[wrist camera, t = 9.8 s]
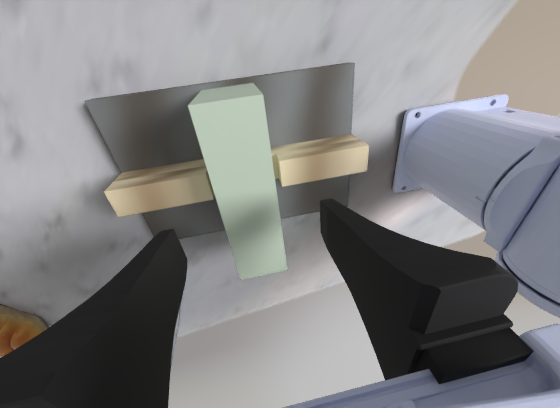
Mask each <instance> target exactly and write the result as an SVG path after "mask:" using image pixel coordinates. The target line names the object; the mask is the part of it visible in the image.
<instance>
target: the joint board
mask: <svg viewBox="0 0 560 408" xmlns="http://www.w3.org/2000/svg"><path fill="white" fill-rule="evenodd" d="M354 67H355V63H343V64H336V65H329V66H322V67H315V68H308V69H301V70H294V71H287V72H280V73H272V74H265V75H258V76H251V77H244V78H237V79H230V80H223V81H216V82H209V83H202V84H195V85H188V86H181V87H174V88H167V89H160V90H153V91H145V92H138V93H131V94H124V95H117V96H110V97H103V98H96V99H91V100H87V101H85V103H86V105H87V107H88V109H89V111H90V113H91V115H92V117H93V119H94V121H95V123H96V124H97V126H98V128H99V130H100V132H101V134H102V136H103V138H104V140H105V142H106V144H107V146H108V148H109V150H110V152H111V154H112V156H113V157H114V159H115V161H116V163H117V165H118V167H119V169H120V171H121V174H120V175H119V176H118V177H117V178H116V179H115V180H114V181H113V182H112V183H111V185H110V186H109V187H108V188H107V189H106V190H105V191H104V193H105V195H106V197H107V199H108V200H109V202H110V204H111V205H112V207H113V209H114V211H115V212H116V214H117V216H118V217H121V216H127V215H132V214H138V213H142V214H143V216H144V218H145V220H146V221H147V223H148V225H149V227H150V229H151V231H152V233H153V235H154V237H155V236H156V235H157V234H158V233H159V232H160V231H163V230H168V229H173V228H174V231H175V233H176V235H177V237H178V239H181V238H186V237H191V236H196V235H201V234H207V233H212V232H217V231H222V230H225V227H224V224H223V220H222V217H221V214H220V210H219V207H218V204H217V201H216V197H215V194H214V191H213V187H212V184H211V181H210V177H209V174H208V171H207V168H206V164H205V161H204V158H203V154H202V151H201V148H200V144H199V141H198V138H197V135H196V131H195V128H194V125H193V121H192V118H191V115H190V111H189V108H188V105H189V104H190V102H191V101H192V100H193V99H194V98H195V97H196V96H197V94H198V93H199V92H200V91H201V90H206V89H213V88H220V87H227V86H234V85H241V84H248V83H254V84H255V86H256V87H257V88H258V89H259V90H260V91H261V92H262V94H263V97H264V104H265V111H266V119H267V126H268V133H269V140H270V147H271V154H272V162H273V169H274V176H275V183H276V190H277V197H278V205H279V212H280V219H283V218H288V217H293V216H298V215H303V214H308V213H313V212H318V211H320V200H325V199H330V198H332V199H334V200H336V201H337V202H339V203H341V204H342V205H344V206H348V191H349V174H354V173H360V172H365V171H367V165H368V154H369V145H368V144H366V143H365V142H363V141H362V140H360V139H358V138H357V137H355V136H354V135H352V134H351V129H352V108H353V88H354Z"/></svg>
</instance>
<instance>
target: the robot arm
mask: <svg viewBox="0 0 560 408" xmlns="http://www.w3.org/2000/svg"><path fill="white" fill-rule="evenodd" d="M491 101H492V102H491ZM507 102H508V95H505V94H500V95H494V96H487V97H481V98H475V99H470V100H463V101H457V102H451V103H445V104H438V105H432V106H426V107H420V108H414V109H409V110H408V111H406V113H405V115H404V120H403V126H402V132H401V138H400V145H399V151H398V157H397V163H396V169H395V176H394V182H393V188H392V189H393V191H394V192H395V193H401V192H406V191H412V190H417V189H422V188H424V189H425V190H427V191H428V192H430V193H431V194H433V195H434V196H436V197H437V198H439V199H440V200H442V201H443V202H445V203H446V204H448V205H449V206H451V207H452V208H453V209H455V210H456V211H458V212H459V213H461V214H462V215H464V216H465V217H467V218H468V219H470V220H471V221H473V222H474V223H476V224H477V225H478V226H480V227H481V228H483V229H484V230H486V236H485V238H484V242H486V243H487V244H488V245H490V246H491V247H493V248H494V249H496V250H497V251H498V253H497V254H496V258H495V261H494V260H493V259H491V258H488V257H483V256H478V255H473V254H468V253H462V252H458V251H453V250H450V249H445V248H442V247H438V246H434V245H431V244H427V243H424V242H421V241H418V240H415V239H412V238H409V237H406V236H403V235H401V234H398V233H396V232H394V231H391V230H389V229H386V228H384V227H382V226H380V225H378V224H376V223H374V222H372V221H370V220H368V219H366V218H364V217H363V216H361V215H359V214H357V213H356V212H354V211H352V210H350V209H349V208H347V207H346V206H344V205H342V204H341V203H339V202H337V201H336V200H334V199H332V198H330V199H325V200H320V223H321V234H322V237H323V240H324V242H325V245H326V247H327V249H328V251H329V253H330V255H331V257H332V259H333V260H334V262H335V264H336V266H337V268H338V269H339V271H340V273H341V275H342V277H343V278H344V280H345V282H346V284H347V286H348V288H349V290H350V292H351V294H352V296H353V298H354V301H355V303H356V305H357V308H358V310H359V313H360V315H361V317H362V320H363V322H364V325H365V327H366V330H367V332H368V335H369V338H370V340H371V343H372V345H373V348H374V351H375V353H376V356H377V359H378V362H379V364H380V367H381V370H382V372H383V375H384V378H385V381H381V382H377V383H374V384H370V385H366V386H362V387H359V388H355V389H351V390H348V391H344V392H340V393H336V394H333V395H328V396H325V397H321V398H317V399H313V400H310V401H306V402H302V403H298V404H295V405H291V406H287V407H284V408H560V324H553V325H549V326H545V327H542V328H538V329H534V330H530V331H528V332H525V333H523V334H522V335H520V336H518V335H517V334H515V332H513V330H512V329H511V328H510V327H512V326H513V323H512V321H511V320H510V319H509V318H507V316H505V315H504V314H503V313H504V312H505V310H506V309H507V307H508V306H509V304H510V303H511V301H512V300H513V298H514V297H515V295H516V293H517V292H518V293H519V294H521V295H522V296H523V297H524V298H526V299H527V300H529V301H530V302H531V303H533V304H534V305H536V306H538V307H539V308H541V309H543V310H545V311H547V312H549V313H551V314H553V315H555V316H557V317H559V318H560V117H556V116H551V115H545V114H540V113H535V112H529V111H524V110H518V109H512V108H507V107H506V105H507ZM417 112H418V114H417V116H416V117H415V114H416V113H417ZM403 186H404V187H403ZM402 187H403V188H402ZM186 273H187V257H186V255H185V253H184V251H183V248H182V246H181V244H180V242H179V239H178V237H177V235H176V233H175V231H174V228H173V229H168V230H163V231H160V232H159V233H158V234H157V235H156V236H155V237H154V238H153V239H152V240H151V241H150V242H149V243H148V244H147V245H146V246H145V247H144V248H143V249H142V250H141V251H140V252H139V253H138V254H137V255H136V256H135V257H134V258H133V259H132V260H131V261H130V262H129V263H128V264H127V265H126V266H125V267H124V268H123V269H122V270H121V271H120V272H119V273H118V274H117V275H116V276H115V277H114V278H113V279H111V280H110V281H109V282H108V283H107V284H106V285H105V286H103V287H102V288H101V289H100V290H99V291H98V292H96V293H95V294H94V295H93V296H91V297H90V298H89V299H88V300H86V301H85V302H84V303H83V304H81V305H80V306H78V307H77V308H76V309H74V310H73V311H72V312H70V313H69V314H68V315H66V316H65V317H63V318H62V319H61V320H59V321H58V322H56V323H55V324H54V325H52V326H51V327H49V328H48V329H46V330H45V331H43V332H42V333H40V334H39V335H37V336H35V337H34V338H32V339H31V340H29V341H28V342H26V343H24V344H23V345H21V346H20V347H18V348H16V349H15V350H13V351H11V352H10V353H8V354H6V355H5V356H3V357H1V358H0V408H168V398H169V381H170V370H171V359H172V350H173V341H174V332H175V327H176V322H177V317H178V313H179V308H180V304H181V299H182V295H183V290H184V286H185V281H186Z"/></svg>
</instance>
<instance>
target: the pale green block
mask: <svg viewBox="0 0 560 408" xmlns="http://www.w3.org/2000/svg"><path fill="white" fill-rule="evenodd" d="M188 108H189V111H190V115H191V118H192V121H193V125H194V128H195V131H196V135H197V138H198V141H199V144H200V148H201V151H202V154H203V158H204V161H205V164H206V168H207V171H208V174H209V177H210V181H211V184H212V187H213V191H214V194H215V197H216V201H217V204H218V207H219V210H220V214H221V217H222V220H223V224H224V227H225V230H226V234H227V237H228V240H229V244H230V247H231V250H232V253H233V257H234V260H235V263H236V267H237V270H238V273H239V277H240V280H244V279H248V278H253V277H258V276H262V275H267V274H271V273H276V272H281V271H285V270H288V269H287V262H286V255H285V248H284V240H283V233H282V226H281V219H280V212H279V205H278V197H277V190H276V183H275V176H274V169H273V162H272V154H271V147H270V140H269V133H268V126H267V119H266V111H265V104H264V97H263V94H262V92H261V91H260V90H259V89H258V88H257V87H256V86H255V84H254V83H248V84H241V85H234V86H227V87H220V88H213V89H206V90H201V91H200V92H199V93H198V94H197V96H196V97H195V98H194V99H193V100H192V101H191V102H190V104H189V105H188Z"/></svg>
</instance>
